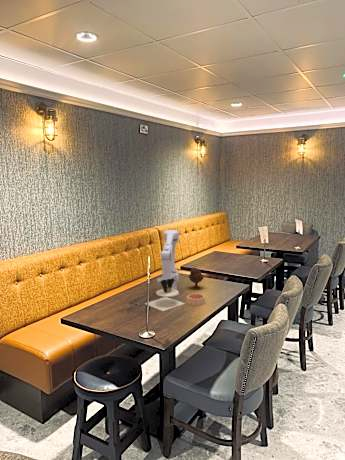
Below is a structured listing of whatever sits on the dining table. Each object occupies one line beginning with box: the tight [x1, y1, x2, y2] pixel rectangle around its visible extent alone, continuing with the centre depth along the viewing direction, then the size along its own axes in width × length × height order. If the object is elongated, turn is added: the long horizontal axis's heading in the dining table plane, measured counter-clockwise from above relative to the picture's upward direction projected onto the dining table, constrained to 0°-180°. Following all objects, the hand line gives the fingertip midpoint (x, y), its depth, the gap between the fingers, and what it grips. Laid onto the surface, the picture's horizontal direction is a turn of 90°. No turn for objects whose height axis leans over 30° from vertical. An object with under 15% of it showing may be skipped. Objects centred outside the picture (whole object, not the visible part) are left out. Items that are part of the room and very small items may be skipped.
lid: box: [155, 286, 180, 298], centre depth 227 cm, size 14×14×4 cm
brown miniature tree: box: [188, 267, 205, 290], centre depth 258 cm, size 11×11×15 cm
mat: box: [144, 296, 186, 312], centre depth 228 cm, size 18×18×1 cm
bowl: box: [186, 293, 206, 307], centre depth 228 cm, size 11×11×4 cm
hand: (167, 290), depth 227 cm, fingers closed on lid, 3 cm apart
